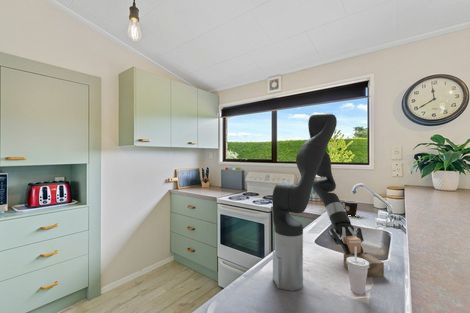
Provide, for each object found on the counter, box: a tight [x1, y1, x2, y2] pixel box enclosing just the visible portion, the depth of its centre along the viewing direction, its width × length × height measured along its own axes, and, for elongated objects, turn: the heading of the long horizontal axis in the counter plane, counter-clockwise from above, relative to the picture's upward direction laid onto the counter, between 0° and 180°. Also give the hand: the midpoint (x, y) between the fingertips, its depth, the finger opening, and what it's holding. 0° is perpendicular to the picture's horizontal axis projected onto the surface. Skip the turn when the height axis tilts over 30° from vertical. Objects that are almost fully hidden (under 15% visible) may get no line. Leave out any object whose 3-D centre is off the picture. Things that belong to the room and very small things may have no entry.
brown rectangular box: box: [343, 252, 385, 278], centre depth 82 cm, size 10×8×5 cm
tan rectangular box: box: [343, 236, 362, 255], centre depth 88 cm, size 5×4×10 cm
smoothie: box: [346, 246, 369, 295], centre depth 70 cm, size 6×6×14 cm
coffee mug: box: [341, 200, 359, 217], centre depth 163 cm, size 12×9×10 cm
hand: (355, 253), depth 86 cm, fingers closed on tan rectangular box, 4 cm apart
